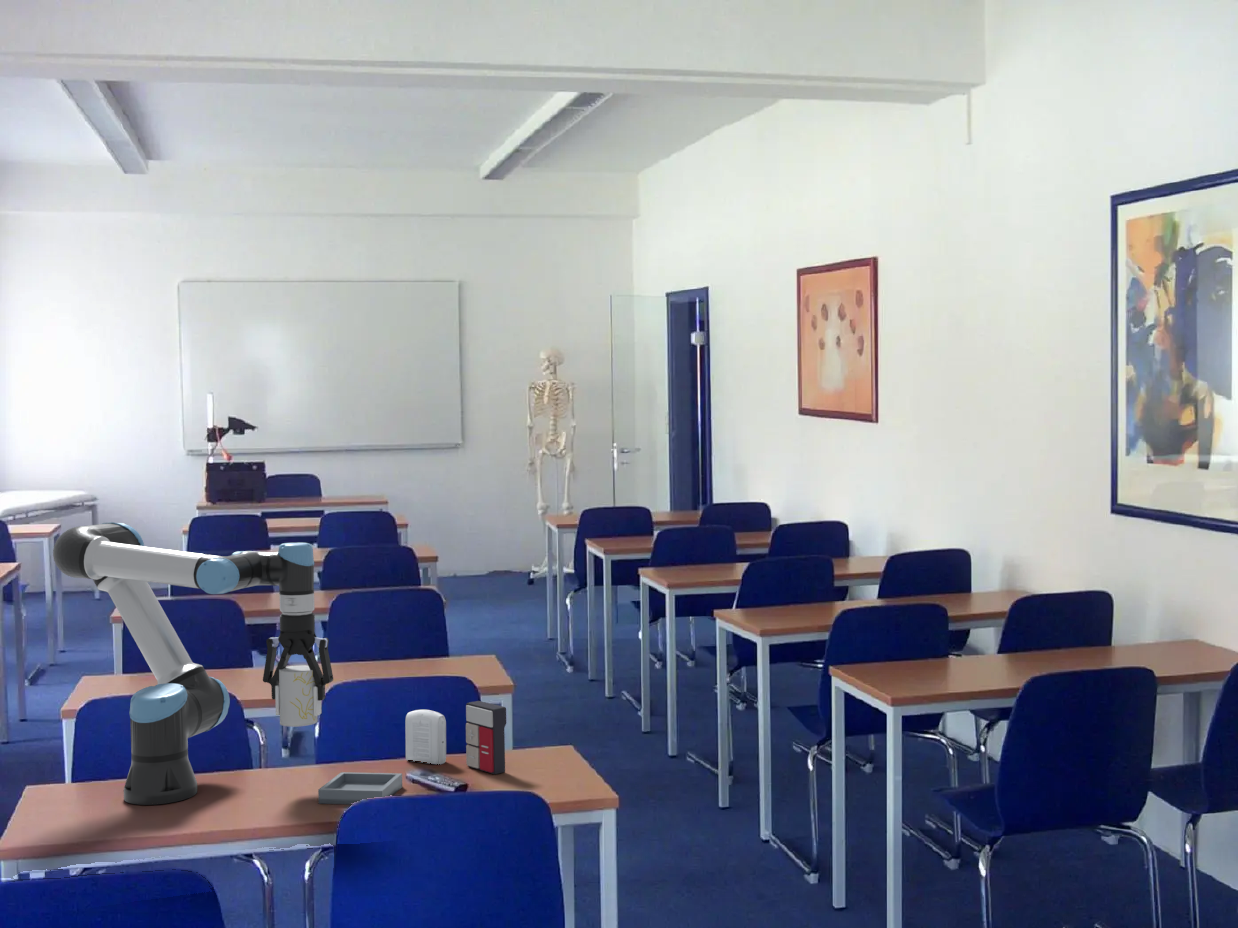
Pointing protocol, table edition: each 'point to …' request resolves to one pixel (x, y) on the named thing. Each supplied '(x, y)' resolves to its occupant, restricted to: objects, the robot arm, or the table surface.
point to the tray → (359, 787)
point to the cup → (296, 696)
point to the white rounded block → (425, 736)
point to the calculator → (485, 737)
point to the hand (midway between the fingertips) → (298, 714)
